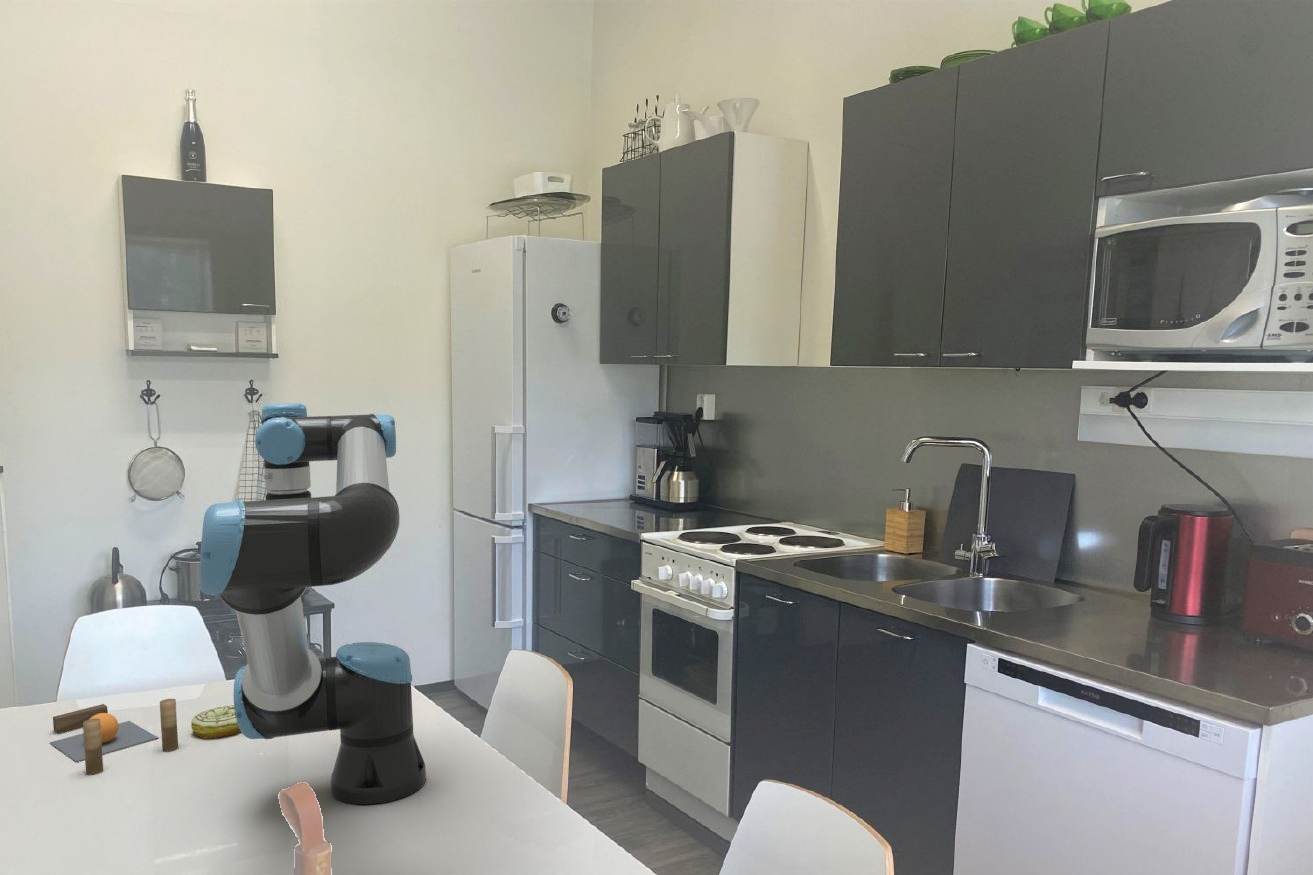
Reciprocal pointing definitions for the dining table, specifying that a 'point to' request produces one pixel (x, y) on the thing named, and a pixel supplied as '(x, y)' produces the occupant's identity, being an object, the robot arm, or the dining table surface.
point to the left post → (93, 746)
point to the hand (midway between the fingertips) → (294, 622)
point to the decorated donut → (216, 722)
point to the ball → (107, 726)
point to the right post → (168, 725)
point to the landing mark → (124, 738)
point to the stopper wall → (76, 718)
